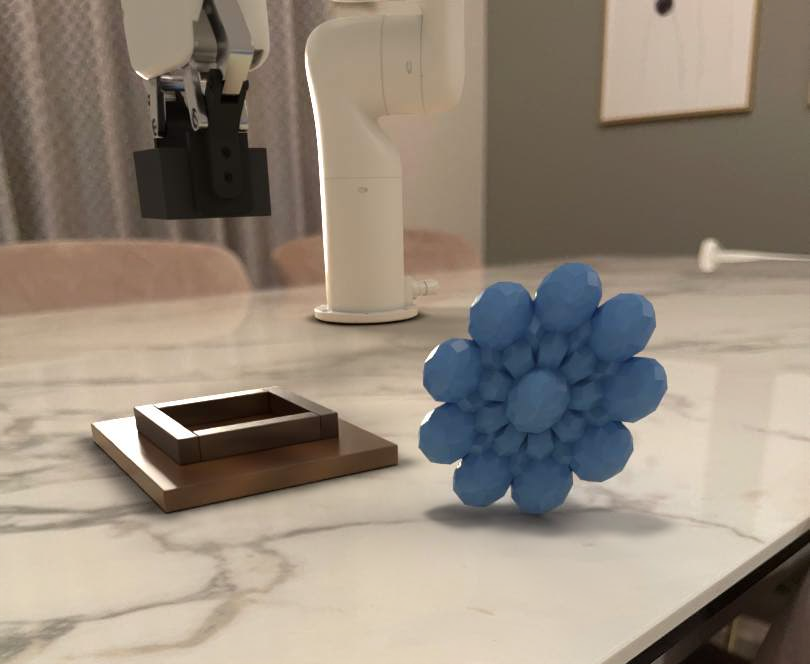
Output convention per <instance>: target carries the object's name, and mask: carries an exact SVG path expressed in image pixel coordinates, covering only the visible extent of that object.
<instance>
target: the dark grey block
mask: <svg viewBox="0 0 810 664" xmlns="http://www.w3.org/2000/svg"><path fill="white" fill-rule="evenodd" d="M267 150H268V149H267V148H266V147H249V159H250V170H251V182H252V194H253V210H252V211H251V212H250V213H240V214H214V215H201V214H198V213H197V212H196V211H195V209H194V203H193V194H192V185H191V176H190V167H189V157H188V148H155V147H154V148H147V149H142V150H135V151H133V152H132V155H133V162H134V170H135V179H136V185H137V192H138V199H139V208H140V214H141V215H140V216H141V218H142V219H150V220H151V219H152V220H162V221H164V220H165V221H177V220H178V221H181V220H206V219H224V218H225V219H228V218H230V219H231V218H253V217H271V216H272V203H271V190H270V189H271V188H270V178H269V164H268V153H267V152H268V151H267Z"/></svg>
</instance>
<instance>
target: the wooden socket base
mask: <svg viewBox="0 0 810 664" xmlns="http://www.w3.org/2000/svg"><path fill="white" fill-rule="evenodd" d="M90 429H91V435H92V440H93V441H94V443H95V444H97V445H98V446H99V447H100V448H101V449H102V450H103V451H104V452H105V453H106V454H107V455H108V456H109V457H110V458H111V459H112V460H113V461H114V462H115V463H116V464H117V465H118V466H119V467H120V468H121V469H122V470H123V471H124V472H125V473H126V474H127V475H128V476H129V477H130V478H131V479H132V481H134V482H135V483H136V484H137V485H138V486H139V487H140V488H141V489H142V490H143V491H144V492H145V493H146V494H147V495H148V496H149V497H150V498H151V499H152V500H153V501H154V502H156V504H157V505H159V506H160V508H161V509H163V510H164V511H165V513H171V512H172V513H173V512H176V511H180V510H186V509H190V508H195V507H200V506H203V505H211V504H213V503H218V502H224V501H229V500H232V499H233V500H234V499H237V498H242V497H248V496H250V495H256V494H261V493H266V492H270V491H276V490H280V489H285V488H289V487H294V486H300V485H303V484H309V483H313V482H319V481H322V480H323V481H324V480H327V479H333V478H337V477H341V476H342V477H343V476H347V475H352V474H357V473H360V472H366V471H371V470H375V469H380V468H384V467H389V466H394V465H398V464H399V445H398V444H396V443H395V442H392V441H390V440H388V439H385V438H383V437H381V436H379V435H378V434H375V433H373V432H371V431H368V430H366V429H365V428H362V427H360V426H357V425H355V424H353V423H351V422H349V421H346V420H344V419H343V418H340V417H339V413H338V412H337V411H335V410H333V409H331V408H329V407H326V406H324V405H322V404H319V403H318V402H315V401H314V400H313V401H312V400H311V399H309V398H306V397H304V396H301V395H300V394H297V393H295V392H292V391H290V390H288V389H287V388H284V387H281V386H279V385H275V386H265V387H262V388H255V389H247V390H241V391H233V392H227V393H220V394H215V395H213V394H212V395H207V396H199V397H195V398H187V399H186V398H185V399H180V400H173V401H167V402H160V403H154V404H146V405H140V406H134V407H133V416H130V417H124V418H117V419H110V420H104V421H97V422H92V423H90Z"/></svg>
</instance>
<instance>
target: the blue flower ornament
mask: <svg viewBox="0 0 810 664" xmlns="http://www.w3.org/2000/svg"><path fill="white" fill-rule="evenodd" d="M602 298H603V285H602V281H601V278H600V275H599V273H598V272H597V271H596V270H595V269H594V268H593V267H591V266H590V265H589V264H585V263H582V262H565V263H564V264H562V265H560V266H558V267H556V268H554V269H553V270H552V271H550V272H549V273H547V274H546V275H545V276H544V277H543V278H542V280H541V281H540V284H539V285H538V287H537V289H536V291H535V294H534V297H533V298H532V296H531V294H530V292H529V290H527V289H526V288H525V287H524V286H523V284H521V283H519V282H515V281H497V282H495V283H494V284H493V283H492V284H491V285H490V286H487V287H486V288H485V289H483V290H482V291H481V292H480V293H479V294H478V295H476V297H475V299H474V301H473V302H472V304H471V306H470V307H469V311H468V315H467V333H468V334H469V336H470V338H471V339H468V338H462V337H461V338H460V337H450V338H448V339H447V340H445V341H443V342H441V343H439V344H438V345H437V346H436V347H435V348H433V349H432V350H431V351H430V353H429V355H428V356H427V358H426V360H425V361H424V364H423V368H422V369H423V370H422V386H423V387H424V389H425V390H426V392H427V393H428V394H429V396H430V397H431V398H432V399H433V400H434V401H435V402H439V403H443V404H441V405H438V406H437V407H435V408H434V409H432V410H431V411H430V412H428V413H426V415H425V417H424V418H423V420H422V422H421V423H420V425H419V428H418V434H417V445H418V446H417V447H418V449H419V450H420V452H421V453H422V454H423V455H424V456H425V458H426V459H427V460H428V461H429V463H432V464H439V465H453V464H454V463H456V462H457V461H459V462H458V464H457V465H456V467H455V469H454V472H453V476H452V491H453V492H454V494H455V495H456V496H457V498H458V499H459V500H460V501H461V502H462V503H463V505H465V506H468V507H473V508H486V507H488V506H491V505H492V504H494V503H496V502H497V501H499V500H501V499H502V498H504V497H505V496H506V494H507V492H508V491H509V489H510V497H511V499H512V500H513V502H514V503H515V505H516V506H517V507H518V508H519V509H520V510H521V512H523V513H526V514H532V515H545V514H547V513H549V512H552V511H553V510H556V509H557V508H558V507H560V506H561V505H562V504H564V503H565V501H566V499H567V497H568V495H569V493H570V492H571V490H572V487H573V485H574V475H576V477H577V479H579V480H580V481H585V482H589V483H603V482H605V481H607V480H610V479H612V478H614V477H615V476H617V475H618V474H620V473H621V472H623V470H624V468H625V467H626V465H627V464H628V462H629V460H630V458H631V456H632V455H633V453H634V450H635V449H634V437H633V434H632V432H631V430H630V429H629V428H628V427H627V426H626V425H625V424H624V423H630V424H634V423H637V422H638V421H641V420H642V419H644V418H646V417H648V416H649V415H651V414H652V413H654V412H655V411H657V409H658V407H659V405H660V404H661V402H662V400H663V398H664V397H665V394H666V392H667V391H668V388H669V387H668V377H667V373H666V369H665V367H664V365H662V364H661V363H660V362H659V361H658V360H657V359H656V358H654V357H653V358H651V357H647V356H636V355H637V354H639V353H641V352H642V351H645V348H646V347H647V345H648V344H649V341H650V340H651V338H652V336H653V334H654V332H655V329H656V328H657V319H656V311H655V308H654V305H653V303H651V301H650V300H649V299H648V298H646V297H645V296H644V295H642V294H638V293H634V292H633V293H632V292H631V293H630V292H629V293H626V292H625V293H622V292H621V293H618V294H617V295H615V296H613V297H611V298H608V300H606V301H605V302H604V303H602V304H601V305H600V303H601V301H602Z"/></svg>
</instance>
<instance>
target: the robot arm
mask: <svg viewBox="0 0 810 664" xmlns="http://www.w3.org/2000/svg"><path fill="white" fill-rule="evenodd" d="M330 1H332V2H335V3H336V2H337V3H376V2H399V1H403V2H405V0H330ZM410 1H412V2H414V3H415V4H417V5H418V7H419V8H420V10H421V13H418V14H417V13H416V14H398V15H397V14H395V15H386V14H375V15H373V14H372V15H353V16H344V17H337V18H333V19H329V20H326V21H324V22H322V23H320V24H319V25H317V26H316V27H314V29H313V30H312V31H311V32H310V34H309V36H308V37H307V40H306V44H305V49H304V66H305V73H306V78H307V83H308V88H309V93H310V99H311V105H312V110H313V116H314V122H315V123H314V124H315V130H316V140H317V151H318V152H317V153H318V167H319V184H320V186H319V187H320V204H321V220H322V221H321V222H322V241H323V256H324V257H323V258H324V259H323V260H324V274H325V293H326V303H324V304H321V305H320V304H319V305H317V306H316V307H315V308H314V317H315V318H316V319H317V320H320V321H324V322H327V323H328V322H329V323H340V324H377V323H388V322H396V321H397V322H398V321H403V320H408V319H412V318H414V317H416V316H417V315H418V314H419V313H418V312H419V311H418V308H419V307H418V305H417V304H416V303H414V302H413V300H416V299H417V298H418V297H421V296H422V297H427V296H429V297H430V296H436V295H437V294H438V293H439V290H440V287H439V282H438V280H437V279H435V278H432V279H431V278H430V279H422V280H418V281H417V280H416V279H414V278H413V276H411V275H406V274H405V253H404V252H405V251H404V250H405V249H404V246H405V245H404V244H405V243H404V203H403V201H404V199H403V197H404V196H403V161H402V158H401V157H402V156H401V154H400V152H399V149H398V148H397V145H396V144H395V143H394V141H393V140H392V139H391V137H390V136H389V135H388V134H387V132H386V131H385V130H384V129H383V128H382V126H381V125H380V123H379V122H378V121H379V120H378V119H379V118H380V117H384V116H391V115H418V114H419V115H421V114H422V115H423V114H424V115H425V114H438V113H444V112H447V111H450V110H452V109H454V108H455V107H456V106H457V105H458V104H459V102H460V101H461V98H462V96H463V92H464V87H465V80H466V35H465V32H466V28H465V27H466V26H465V25H466V24H465V21H466V20H465V0H410ZM120 3H121V5H120V6H121V13H122V21H123V28H124V35H125V40H126V47H127V52H128V57H129V62H130V65H131V67H132V69H133V70H134V72H135V73H136V74H137V75H139V76H140V77H141V79H142V85H143V87H144V89H145V92H146V93H147V98H148V100H147V104H148V106H149V108H150V109H149V110H150V129H151V133H152V136H153V146H154V148H188V157H189V167H190V176H191V185H192V194H193V203H194V209H195V211H196V212H197V213H198V214H201V215H214V214H240V213H250V212H251V211H252V210H253V194H252V182H251V170H250V159H249V148H250V147H249V135H248V130H249V127H250V115H249V109H248V105H247V99H246V96H247V92H248V91H249V89H250V81H249V79H248V76H249V73H250V72H253V71H255V70H257V69H259V68H260V67H261V66H262V65H263V64H264V63H265V62H266V60H267V59H268V57H269V55H270V50H271V42H270V41H271V39H270V28H269V18H268V8H267V7H268V6H267V0H120ZM175 70H180V72H181V75H171V72H174V71H175ZM204 83H205V88H204ZM182 92H185V96H184V95H183V94H182ZM185 97H186V101H185ZM186 103H187V104H186Z"/></svg>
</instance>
